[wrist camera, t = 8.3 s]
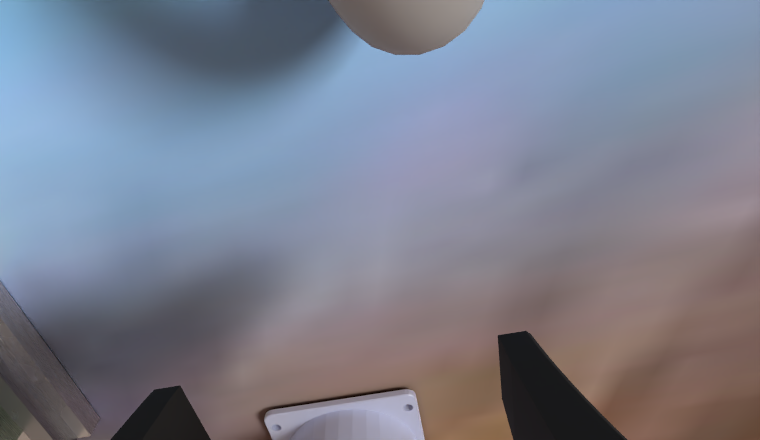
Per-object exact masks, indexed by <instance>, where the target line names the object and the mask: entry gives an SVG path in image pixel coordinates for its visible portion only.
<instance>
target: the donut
mask: <svg viewBox="0 0 760 440" xmlns="http://www.w3.org/2000/svg"><path fill="white" fill-rule="evenodd" d="M328 1H329V2H330V4H331V5H332V7H333V8H334V10H335V11H336V13H337V14H338V15H339V16H340V17H341V19H342V20H343V21H344V22H345V23H346V25H347V26H348V27H349V28H350V29H351V31H352V32H354V33H355V34H356V35H357V36H359V37H360V38H361V39H363V40H364V41H365V42H366V43H368V44H369V45H370V46H372V47H374V48H377V49H380V50H383V51H386V52H389V53H392V54H395V55H420V54H423V53H426V52H429V51H432V50H435V49H438V48H440V47H443V46H445V45H446V44H448V43H449V42H450V41H452V40H453V39H454V38H456V37H457V36H458V35H460V34H461V33H462V32H464V31H465V30H466V29H467V27H468V26H469V24H470V23H471V22H472V20H473V19H474V18H475V16H476V15H477V14H478V12H479V11H480V9H481V8H482V5H483V2H484V0H328Z"/></svg>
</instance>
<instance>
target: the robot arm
mask: <svg viewBox="0 0 760 440" xmlns="http://www.w3.org/2000/svg"><path fill="white" fill-rule="evenodd" d="M498 345H499V360H500V375H501V390H502V400H503V404H504V407H505V411H506V414H507V418H508V422H509V425H510V429H511V432H512V436H513V440H627V439H626V438H625V437H624V436H623V435H622V434H621V433H620V432H619V431H618V430H617V429H616V428H615V427H614V426H613V425H612V424H611V423H610V422H609V421H608V420H607V419H606V418H605V417H604V416H603V415H602V414H601V413H600V412H599V411H598V410H597V409H596V408H595V407H594V406H593V405H592V404H591V403H590V402H589V401H588V400H587V399H586V398H585V397H584V396H583V395H582V394H581V393H580V392H579V390H578V389H577V388H576V387H575V386H574V385H573V384H572V383H571V382H570V381H569V380H568V378H567V377H566V376H565V375H564V374H563V373H562V372H561V370H560V369H559V368H558V367H557V366H556V365H555V364H554V362H553V361H552V360H551V359H550V358H549V356H548V355H547V354H546V353H545V352H544V350H543V349H542V348H541V347H540V345H539V344H538V343H537V342H536V340H535V339H534V338H533V336H532V335H531V334H530V333H528V332H527V331H523V332H516V333H510V334H504V335H498ZM407 404H408V405H407ZM264 423H265V425H266V427H267V429H268V431H269V433H270V436H271V438H272V440H425V438H424V433H423V428H422V423H421V418H420V413H419V408H418V403H417V398H416V394H415V392H414V391H412V390H409V389H403V390H397V391H390V392H384V393H377V394H371V395H364V396H358V397H351V398H345V399H338V400H332V401H325V402H318V403H312V404H305V405H299V406H292V407H286V408H279V409H273V410H269V411H268V412H266V414H265V418H264ZM111 440H211V439H210V438H209V436H208V434H207V432H206V431H205V429H204V427H203V425H202V424H201V422H200V420H199V418H198V417H197V415H196V413H195V411H194V409H193V408H192V406H191V404H190V402H189V401H188V399H187V397H186V395H185V394H184V392H183V390H182V388H181V386H175V387H168V388H162V389H156V390H154V391H153V392H152V393H151V394H150V395H149V396H148V397H147V398H146V399H145V400H144V402H143V403H142V404H141V405H140V406H139V407H138V408H137V410H136V411H135V412H134V413H133V414H132V415H131V416H130V418H129V419H128V420H127V421H126V422H125V423H124V425H123V426H122V427H121V428H120V429H119V430H118V432H117V433H116V434H115V435H114V436H113V437H112V439H111Z"/></svg>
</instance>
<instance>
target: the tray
mask: <svg viewBox="0 0 760 440" xmlns="http://www.w3.org/2000/svg"><path fill="white" fill-rule="evenodd" d="M99 420H100V418H99V416H98V415H97V414H96V412H95V411H94V409H93V408H92V407H91V405H90V404H89V403H88V401H87V400H86V398H85V397H84V396H83V394H82V393H81V392H80V390H79V389H78V387H77V386H76V385H75V383H74V382H73V381H72V379H71V378H70V376H69V375H68V374H67V372H66V371H65V370H64V368H63V367H62V365H61V364H60V363H59V361H58V360H57V359H56V357H55V356H54V354H53V353H52V352H51V350H50V349H49V348H48V346H47V345H46V343H45V342H44V341H43V339H42V338H41V337H40V335H39V334H38V332H37V331H36V330H35V328H34V327H33V326H32V324H31V323H30V321H29V320H28V319H27V317H26V316H25V315H24V313H23V312H22V310H21V309H20V308H19V306H18V305H17V304H16V302H15V301H14V299H13V298H12V297H11V295H10V294H9V293H8V291H7V290H6V288H5V287H4V286H3V284H2V283H1V282H0V440H77V438H81V437H87V436H91V435H92V433H93V431H94V429H95V428H96V426H97V424H98V422H99Z"/></svg>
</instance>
